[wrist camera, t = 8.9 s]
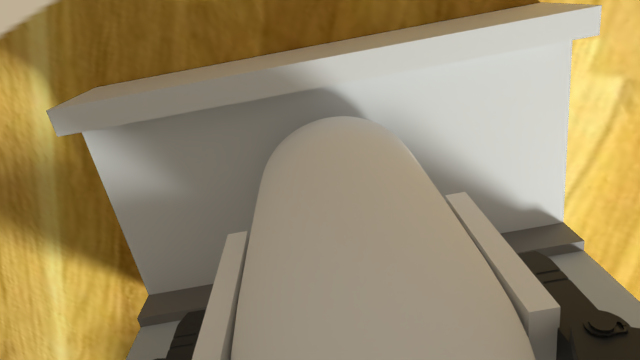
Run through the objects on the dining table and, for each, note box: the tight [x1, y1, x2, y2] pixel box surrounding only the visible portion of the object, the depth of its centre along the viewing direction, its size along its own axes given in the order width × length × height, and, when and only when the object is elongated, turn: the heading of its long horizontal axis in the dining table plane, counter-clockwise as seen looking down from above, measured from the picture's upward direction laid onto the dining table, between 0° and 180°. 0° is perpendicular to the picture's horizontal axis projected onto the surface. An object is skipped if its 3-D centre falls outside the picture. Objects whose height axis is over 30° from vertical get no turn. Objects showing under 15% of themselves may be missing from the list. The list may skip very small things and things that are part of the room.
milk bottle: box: [231, 116, 536, 360], centre depth 13 cm, size 8×8×20 cm
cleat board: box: [46, 2, 640, 360], centre depth 20 cm, size 24×14×14 cm, turn 100°
